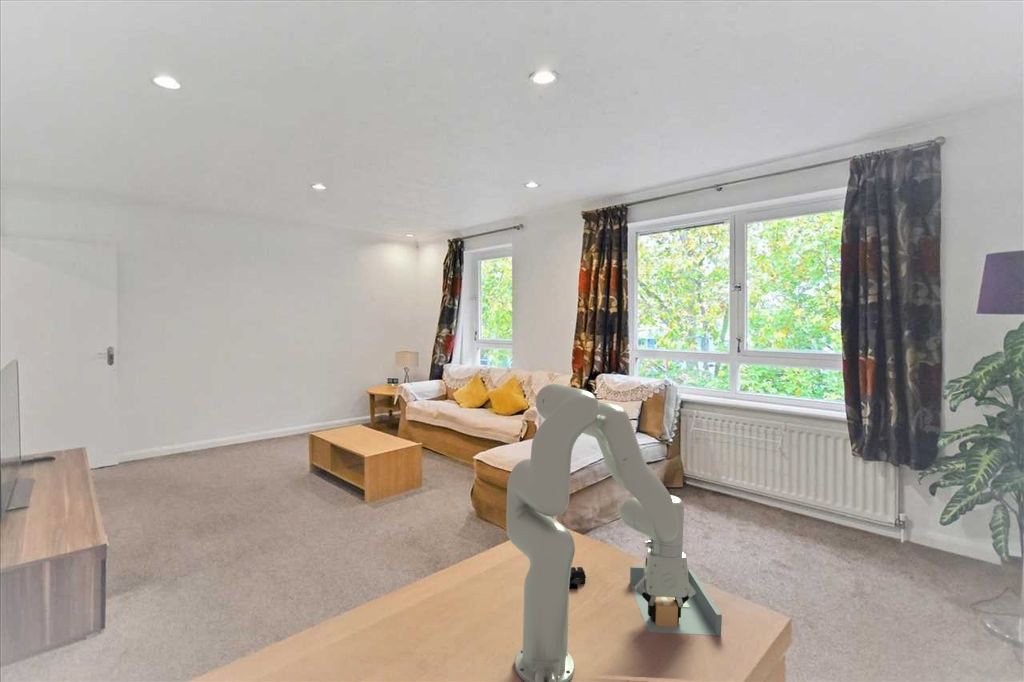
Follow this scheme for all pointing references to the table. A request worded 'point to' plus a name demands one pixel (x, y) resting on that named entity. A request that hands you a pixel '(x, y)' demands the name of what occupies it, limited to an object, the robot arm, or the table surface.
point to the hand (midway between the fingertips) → (664, 618)
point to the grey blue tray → (683, 609)
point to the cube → (666, 612)
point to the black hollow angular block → (576, 577)
